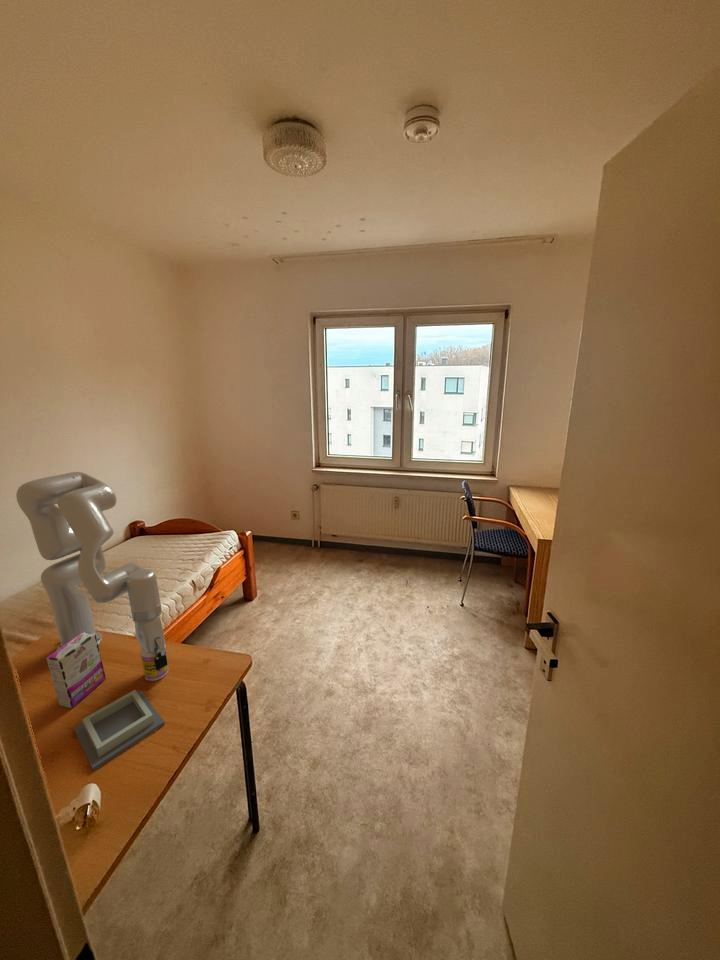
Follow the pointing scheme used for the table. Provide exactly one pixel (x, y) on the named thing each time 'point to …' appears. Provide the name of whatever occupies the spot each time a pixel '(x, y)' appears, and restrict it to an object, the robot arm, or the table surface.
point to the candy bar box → (76, 669)
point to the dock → (117, 727)
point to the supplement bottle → (152, 666)
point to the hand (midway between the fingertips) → (155, 659)
